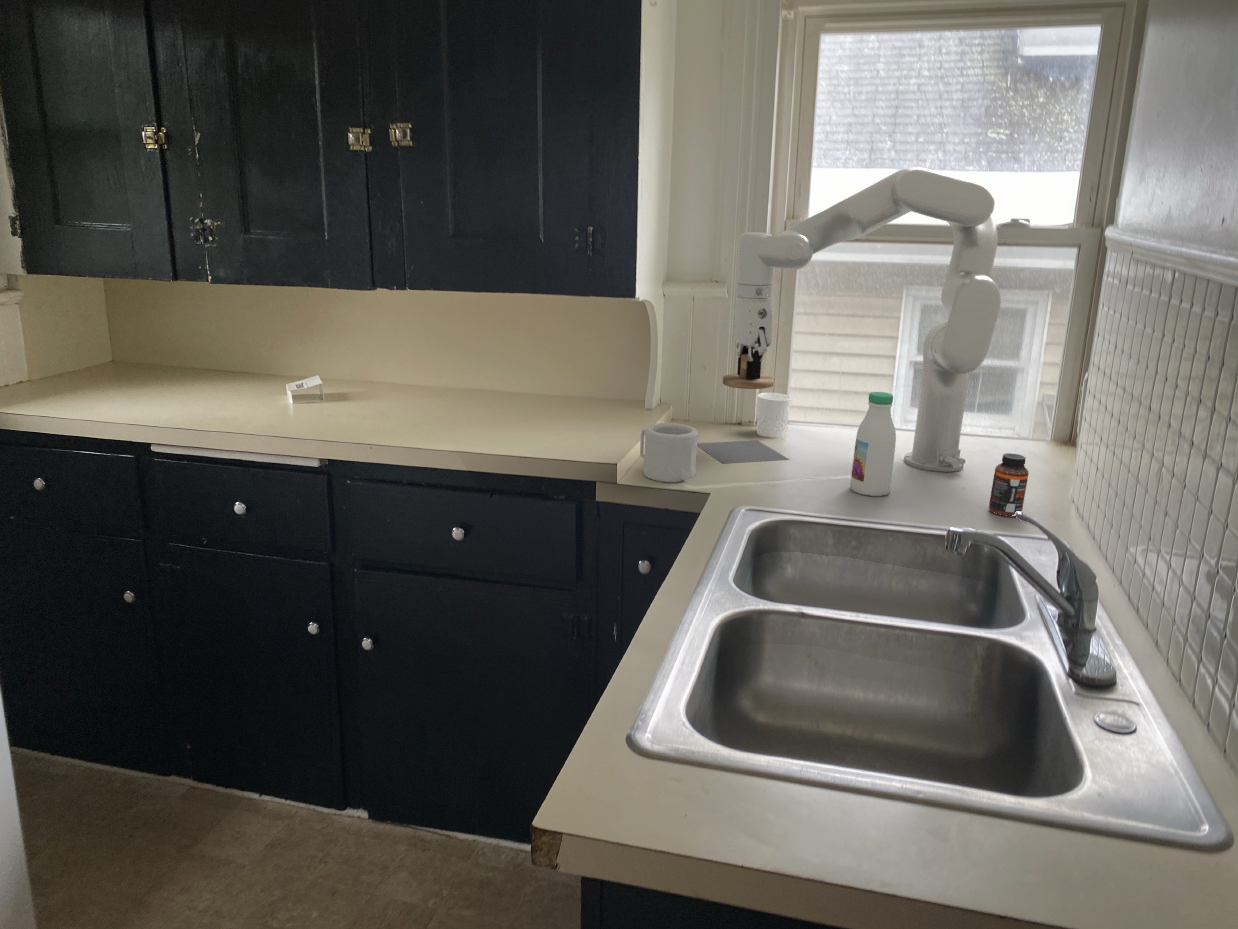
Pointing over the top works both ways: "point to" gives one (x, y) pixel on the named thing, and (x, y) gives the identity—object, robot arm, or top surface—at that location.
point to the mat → (741, 452)
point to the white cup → (772, 414)
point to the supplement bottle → (1009, 485)
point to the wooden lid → (744, 383)
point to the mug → (669, 452)
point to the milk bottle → (874, 448)
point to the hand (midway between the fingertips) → (748, 376)
